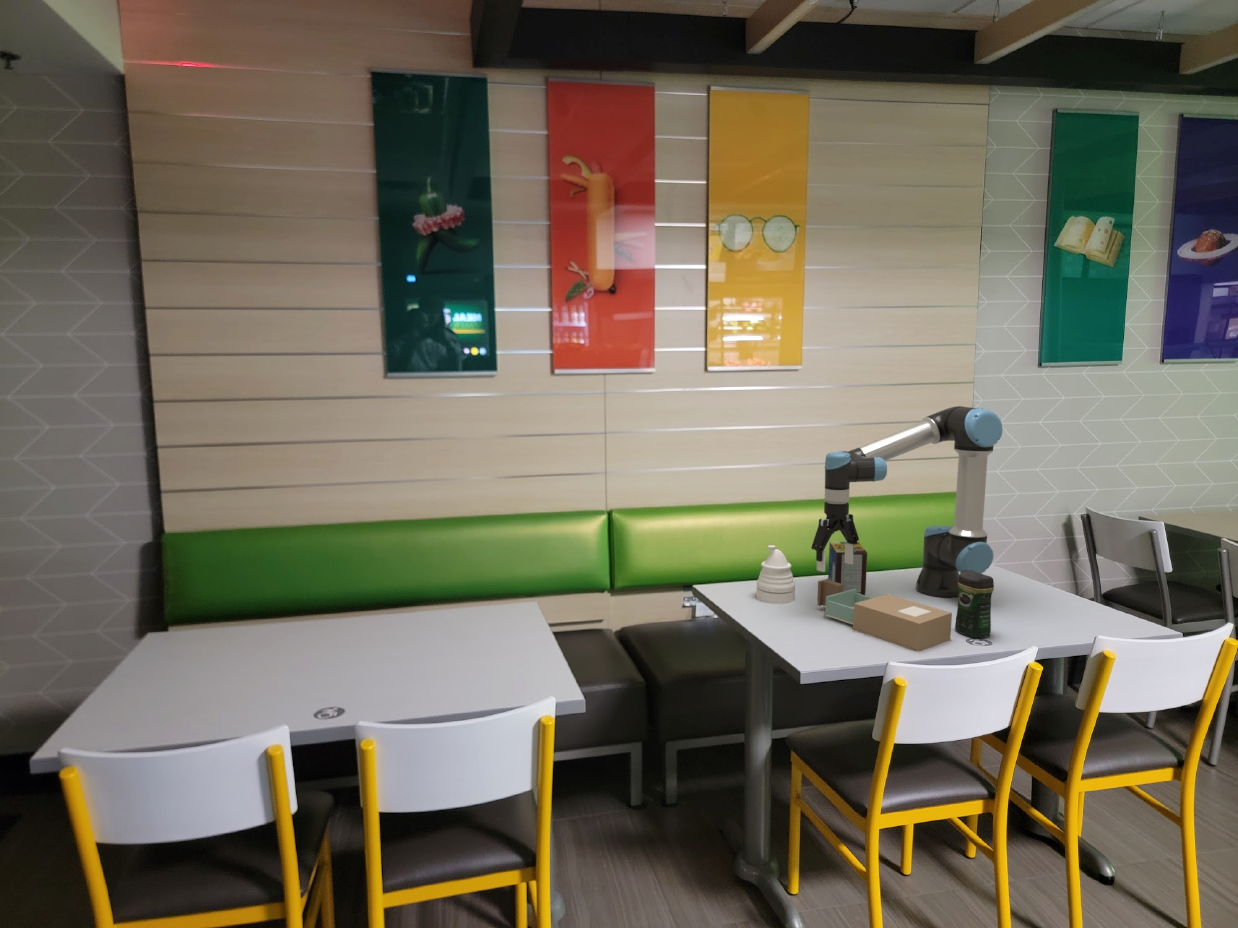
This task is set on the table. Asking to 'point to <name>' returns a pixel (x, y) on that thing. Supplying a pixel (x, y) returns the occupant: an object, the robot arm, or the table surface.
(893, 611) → the cardboard box
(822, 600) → the tray
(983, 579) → the coffee jar
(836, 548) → the protein box
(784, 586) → the honey pot
